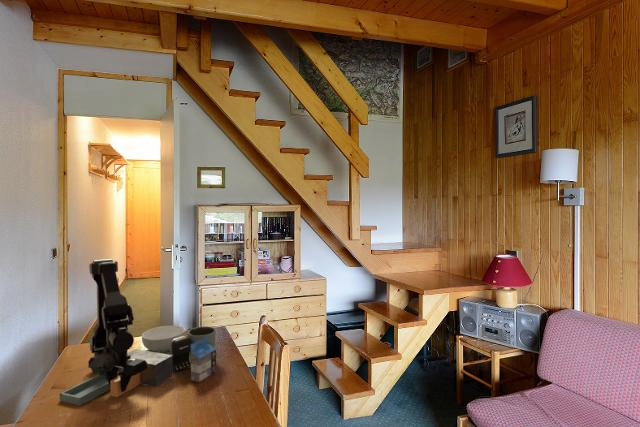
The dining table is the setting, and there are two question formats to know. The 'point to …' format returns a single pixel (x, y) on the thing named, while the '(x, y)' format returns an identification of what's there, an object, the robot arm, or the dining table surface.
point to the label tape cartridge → (202, 360)
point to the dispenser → (153, 366)
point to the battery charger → (180, 353)
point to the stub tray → (86, 390)
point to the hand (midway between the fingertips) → (118, 390)
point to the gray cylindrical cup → (202, 335)
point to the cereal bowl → (161, 337)
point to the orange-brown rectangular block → (132, 383)
